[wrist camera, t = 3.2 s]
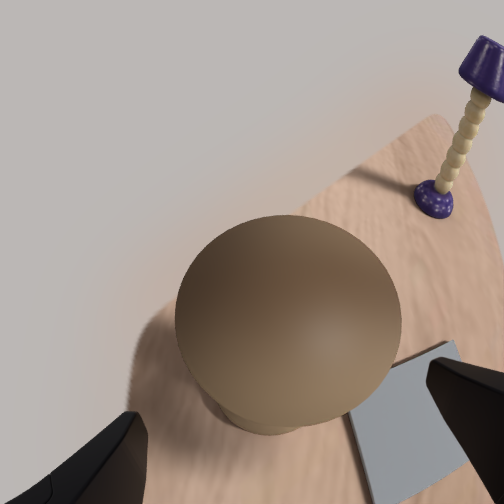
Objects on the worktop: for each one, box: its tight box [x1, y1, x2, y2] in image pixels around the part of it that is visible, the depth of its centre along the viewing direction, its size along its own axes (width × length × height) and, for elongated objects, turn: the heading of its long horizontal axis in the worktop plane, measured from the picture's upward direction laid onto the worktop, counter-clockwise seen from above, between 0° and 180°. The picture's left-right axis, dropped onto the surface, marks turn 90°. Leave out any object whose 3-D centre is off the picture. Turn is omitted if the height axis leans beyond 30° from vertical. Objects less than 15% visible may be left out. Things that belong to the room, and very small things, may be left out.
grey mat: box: [348, 340, 469, 504], centre depth 14 cm, size 9×9×1 cm
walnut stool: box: [175, 215, 402, 436], centre depth 12 cm, size 6×6×12 cm
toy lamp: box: [414, 35, 504, 219], centre depth 18 cm, size 5×5×17 cm
